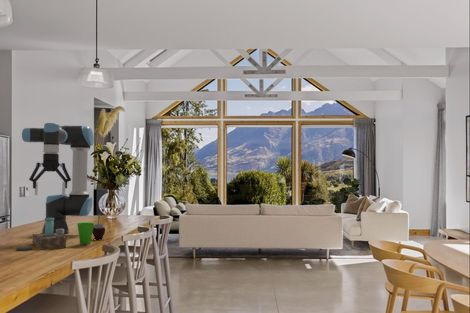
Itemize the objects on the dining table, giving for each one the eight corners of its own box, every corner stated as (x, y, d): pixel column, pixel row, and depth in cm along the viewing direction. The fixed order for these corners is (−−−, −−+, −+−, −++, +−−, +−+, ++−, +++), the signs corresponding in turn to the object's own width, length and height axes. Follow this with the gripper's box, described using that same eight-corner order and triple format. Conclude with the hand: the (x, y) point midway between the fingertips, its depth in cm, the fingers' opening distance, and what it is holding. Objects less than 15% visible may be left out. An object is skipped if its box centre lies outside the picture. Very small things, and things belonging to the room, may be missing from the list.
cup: (97, 243, 286) (98, 222, 286) (87, 245, 277) (88, 224, 277) (83, 242, 289) (83, 221, 289) (72, 244, 280) (73, 223, 280)
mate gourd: (98, 238, 307) (99, 211, 307) (108, 239, 303) (109, 212, 303) (88, 239, 301) (89, 212, 301) (99, 240, 297) (99, 213, 297)
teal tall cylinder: (52, 244, 278) (53, 217, 278) (54, 246, 274) (55, 218, 275) (43, 245, 276) (43, 217, 276) (45, 246, 272) (45, 218, 272)
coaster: (30, 248, 266) (30, 246, 266) (33, 250, 260) (33, 248, 260) (14, 249, 262) (14, 247, 262) (17, 251, 256) (17, 249, 256)
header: (56, 242, 287) (56, 225, 287) (65, 247, 270) (66, 229, 270) (32, 243, 280) (32, 226, 281) (40, 249, 263) (41, 230, 264)
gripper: (73, 154, 286) (72, 194, 285) (23, 152, 273) (22, 194, 272) (77, 153, 279) (76, 195, 279) (26, 152, 266) (25, 195, 266)
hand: (50, 195), depth 275 cm, fingers open, 13 cm apart
